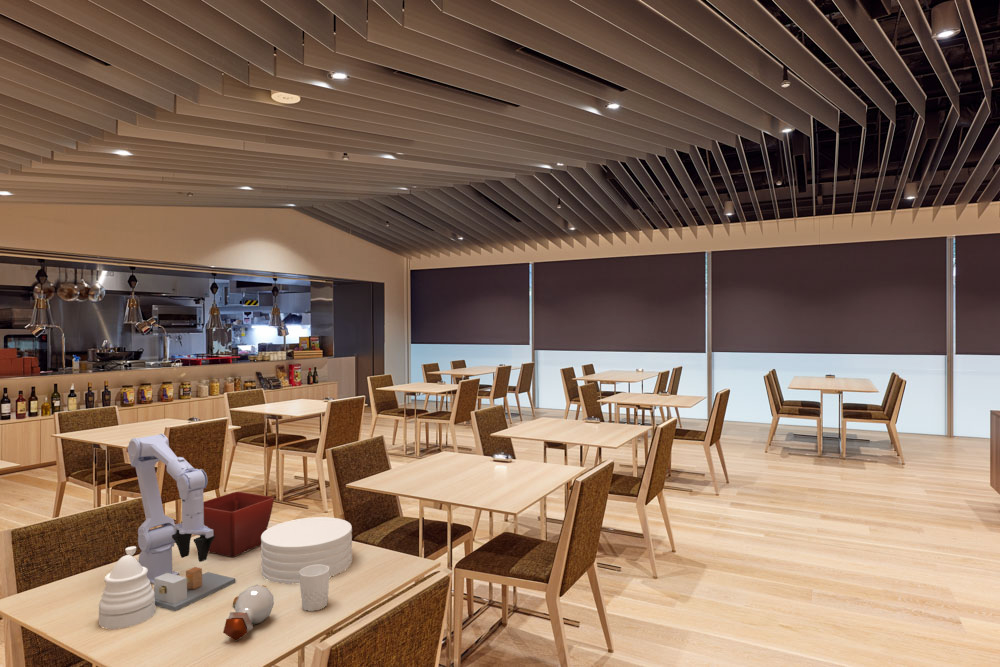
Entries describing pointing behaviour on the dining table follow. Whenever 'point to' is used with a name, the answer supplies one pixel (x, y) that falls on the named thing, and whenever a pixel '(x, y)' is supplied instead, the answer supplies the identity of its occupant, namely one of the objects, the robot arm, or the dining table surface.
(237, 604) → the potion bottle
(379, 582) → the dining table surface
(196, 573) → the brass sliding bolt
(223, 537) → the plant pot
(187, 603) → the block
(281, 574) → the plate stack
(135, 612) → the honey pot
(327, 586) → the white cup
